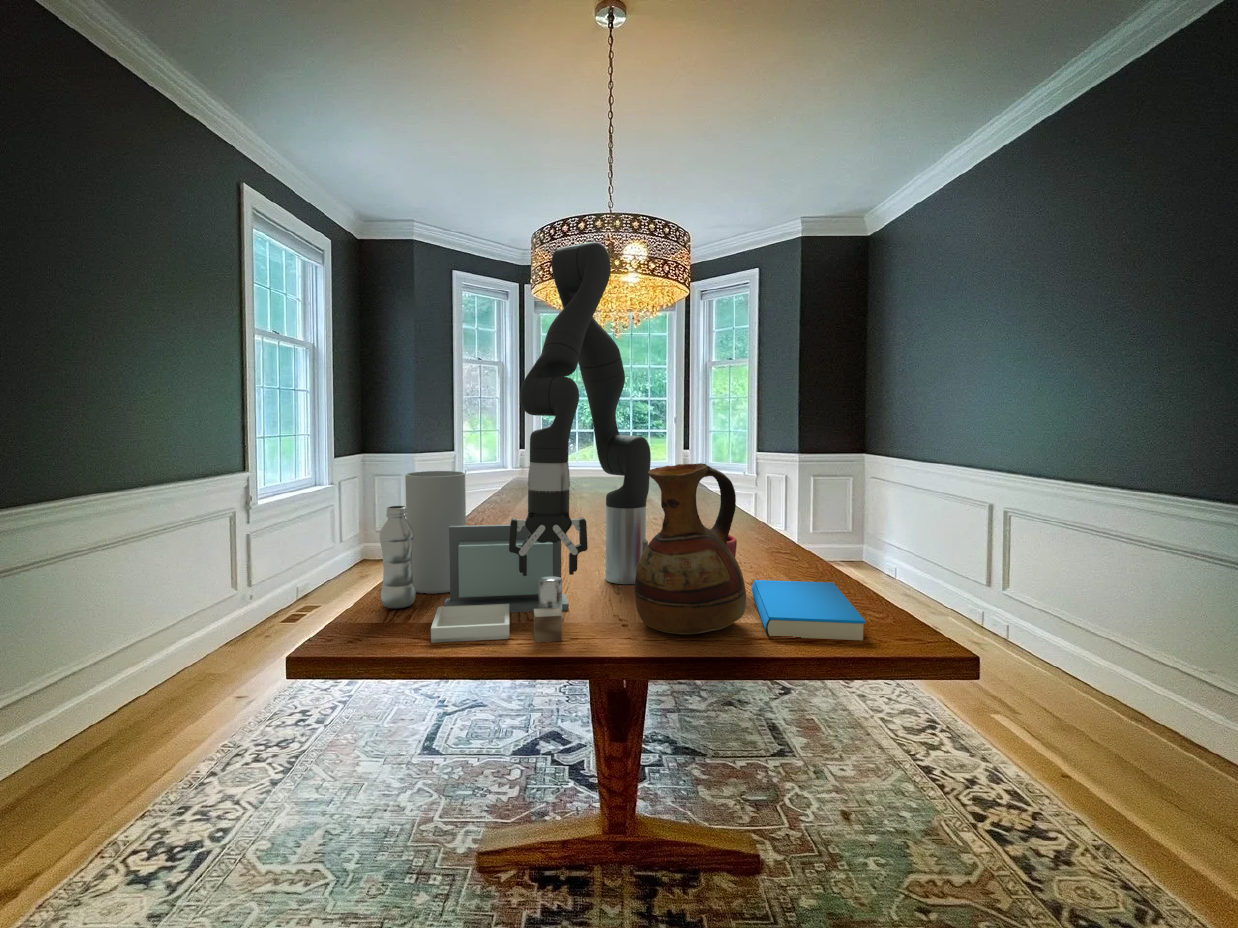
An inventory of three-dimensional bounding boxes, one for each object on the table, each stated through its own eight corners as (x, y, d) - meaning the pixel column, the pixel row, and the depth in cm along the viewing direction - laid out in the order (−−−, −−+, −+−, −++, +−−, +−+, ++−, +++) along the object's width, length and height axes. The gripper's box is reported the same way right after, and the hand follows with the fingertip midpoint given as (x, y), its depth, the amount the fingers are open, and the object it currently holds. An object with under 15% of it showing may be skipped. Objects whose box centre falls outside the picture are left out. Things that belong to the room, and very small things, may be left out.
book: (833, 582, 138) (867, 618, 113) (832, 602, 138) (866, 643, 113) (750, 579, 139) (766, 614, 114) (750, 599, 139) (765, 639, 115)
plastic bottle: (423, 604, 132) (421, 505, 130) (401, 614, 125) (399, 510, 124) (396, 600, 134) (394, 503, 132) (373, 610, 127) (371, 508, 126)
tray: (509, 616, 124) (509, 603, 124) (509, 638, 113) (509, 624, 112) (438, 619, 122) (438, 606, 122) (431, 642, 110) (430, 628, 110)
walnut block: (559, 632, 116) (559, 607, 116) (561, 641, 112) (561, 615, 111) (533, 633, 116) (533, 608, 115) (534, 642, 111) (534, 616, 111)
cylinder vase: (474, 580, 150) (472, 471, 148) (455, 595, 138) (453, 477, 135) (421, 578, 151) (419, 470, 149) (397, 593, 139) (395, 476, 137)
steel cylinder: (561, 617, 124) (561, 575, 124) (563, 624, 120) (563, 582, 119) (537, 618, 123) (537, 576, 123) (538, 626, 119) (538, 583, 118)
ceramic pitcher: (617, 616, 125) (619, 459, 122) (709, 604, 133) (712, 457, 130) (665, 652, 107) (667, 469, 104) (767, 635, 115) (772, 465, 112)
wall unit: (565, 599, 136) (565, 522, 134) (568, 609, 129) (568, 529, 127) (446, 604, 132) (444, 525, 130) (442, 615, 125) (441, 532, 123)
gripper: (585, 484, 124) (584, 569, 126) (509, 484, 122) (508, 570, 123) (590, 489, 117) (588, 578, 118) (509, 489, 115) (508, 580, 116)
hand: (548, 574), depth 121 cm, fingers open, 8 cm apart
